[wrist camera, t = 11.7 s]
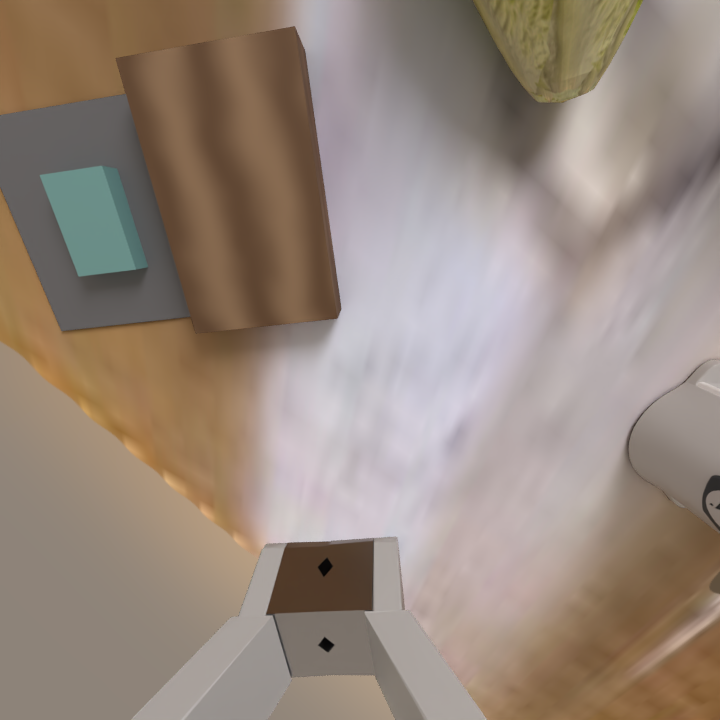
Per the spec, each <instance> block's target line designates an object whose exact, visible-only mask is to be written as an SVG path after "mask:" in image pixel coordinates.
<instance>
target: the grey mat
mask: <svg viewBox="0 0 720 720" xmlns="http://www.w3.org/2000/svg"><path fill="white" fill-rule="evenodd" d="M96 166H106V167H111V168H116V169H117V170H118V173H119V176H120V179H121V182H122V185H123V189H124V192H125V195H126V198H127V201H128V204H129V208H130V211H131V214H132V217H133V220H134V223H135V227H136V230H137V233H138V236H139V239H140V242H141V246H142V249H143V252H144V255H145V258H146V261H147V264H148V267H146V268H141V269H136V270H128V271H120V272H112V273H104V274H96V275H88V276H80V277H79V276H78V274H77V271H76V268H75V266H74V263H73V261H72V258H71V255H70V253H69V250H68V248H67V245H66V243H65V240H64V237H63V235H62V232H61V230H60V227H59V224H58V222H57V219H56V217H55V214H54V211H53V209H52V206H51V204H50V201H49V198H48V196H47V193H46V191H45V188H44V186H43V183H42V180H41V178H40V175H43V174H50V173H56V172H63V171H70V170H76V169H83V168H90V167H96ZM0 188H1V190H2V192H3V195H4V197H5V199H6V202H7V204H8V206H9V209H10V211H11V213H12V216H13V218H14V220H15V223H16V225H17V227H18V230H19V232H20V235H21V237H22V239H23V242H24V244H25V246H26V249H27V251H28V253H29V256H30V258H31V260H32V263H33V265H34V267H35V270H36V272H37V274H38V277H39V279H40V282H41V284H42V286H43V289H44V291H45V293H46V296H47V298H48V300H49V303H50V305H51V307H52V310H53V312H54V314H55V317H56V319H57V321H58V324H59V326H60V329H61V331H66V330H75V329H84V328H93V327H102V326H111V325H120V324H129V323H138V322H147V321H156V320H165V319H174V318H183V317H191V316H190V312H189V309H188V306H187V302H186V299H185V295H184V292H183V288H182V285H181V282H180V278H179V275H178V271H177V268H176V264H175V261H174V257H173V254H172V251H171V247H170V244H169V240H168V237H167V233H166V230H165V227H164V223H163V220H162V216H161V213H160V209H159V206H158V203H157V199H156V196H155V192H154V189H153V185H152V182H151V179H150V175H149V172H148V168H147V165H146V161H145V158H144V154H143V151H142V148H141V144H140V141H139V137H138V134H137V130H136V127H135V124H134V120H133V117H132V113H131V110H130V106H129V103H128V100H127V96H126V94H123V95H117V96H111V97H105V98H99V99H93V100H88V101H82V102H76V103H70V104H64V105H58V106H52V107H46V108H40V109H34V110H28V111H22V112H16V113H10V114H4V115H0Z"/></svg>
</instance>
